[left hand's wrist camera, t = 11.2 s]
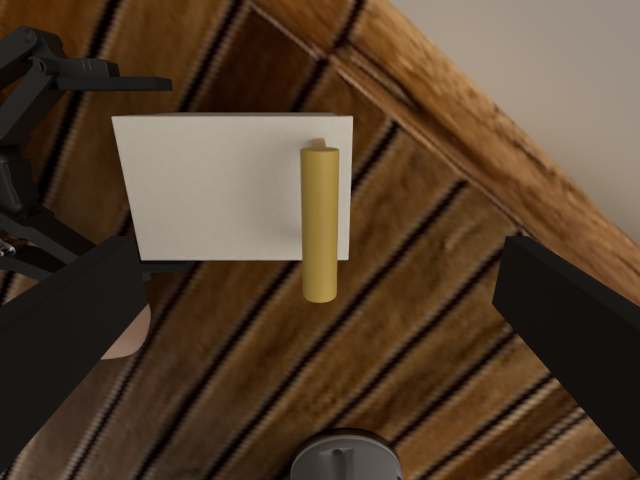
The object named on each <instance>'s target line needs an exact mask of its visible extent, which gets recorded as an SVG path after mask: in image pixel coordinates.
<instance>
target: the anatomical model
mask: <svg viewBox="0 0 640 480" xmlns="http://www.w3.org/2000/svg"><path fill="white" fill-rule="evenodd" d="M150 318H151V310H150V306H149V304H148V305H147V306H146V307H145V308H144V309H143V310H142V311H141V313H140V314H139V315H138V316H137V317H136V318H135V320H134V321H133V322H132V323H131V324H130V325H129V327H128V328H127V329H126V330H125V331H124V332H123V333H122V335H121V336H120V337H119V338H118V339H117V340H116V342H115V343H114V344H113V345H112V346H111V347H110V349H109V350H108V351H107V352H106V353H105V354H104V356H103V357H102V358H101V359H111V358H119V357H124V356H128V355H130V354H133V353H134V352H136V351H137V350H138V349H139V348H140V347H141V346H142V344H143V342H144V341H145V338H146V336H147V333H148V329H149V325H150Z"/></svg>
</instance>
